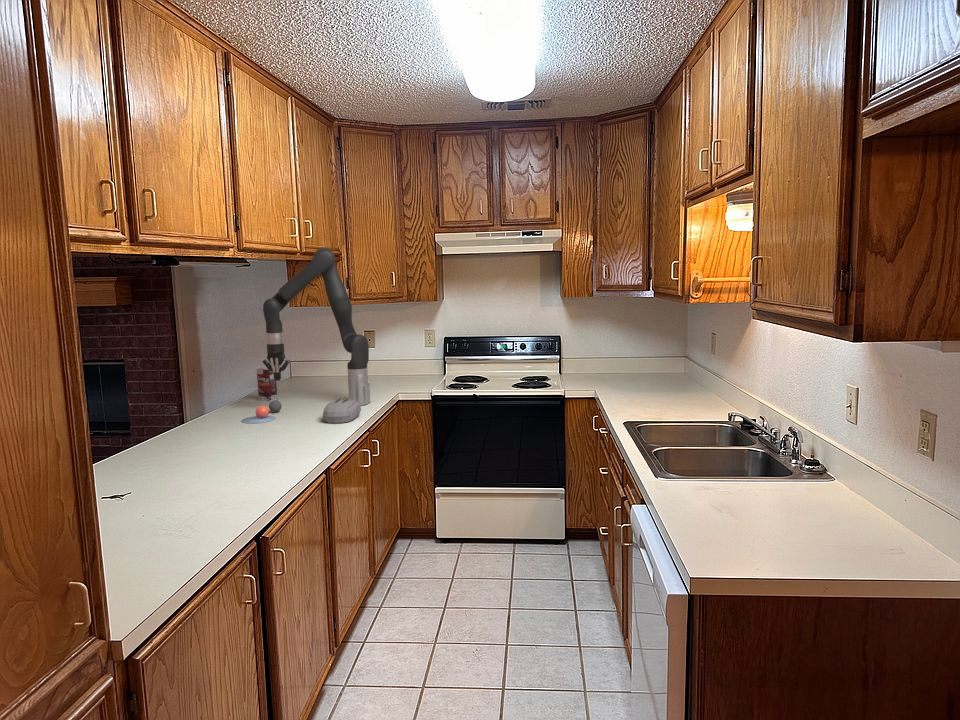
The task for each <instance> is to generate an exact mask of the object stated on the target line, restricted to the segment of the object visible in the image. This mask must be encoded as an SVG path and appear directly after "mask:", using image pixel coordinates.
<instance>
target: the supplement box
mask: <svg viewBox="0 0 960 720" xmlns="http://www.w3.org/2000/svg"><path fill="white" fill-rule="evenodd" d="M256 380H257V394H258V400H259V401H262V402H263V401H264V402H269V403H270V402H271V401H273V400H277V401H278V390H277V389H278V387H277V385H278V384H277V381H275V379H274V373H273V372H272V371H269V370H268V368H267V367H260V368H257V369H256Z"/></svg>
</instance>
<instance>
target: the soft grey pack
mask: <svg viewBox="0 0 960 720" xmlns="http://www.w3.org/2000/svg"><path fill="white" fill-rule="evenodd" d="M361 406H362V405H360V404H359V403H358V401H354V400H349V398H345V399H341V398H339V399H337V400H334V401H332V402H329V403H327V404H326V405H325V407H324V408H323V411H322V412H323V413H322V417H323V421H324V423H329V424H343V423H349V422H352V421H353V420H356V419H357V417H359V415H360V414H361V411H362V407H361Z"/></svg>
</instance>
